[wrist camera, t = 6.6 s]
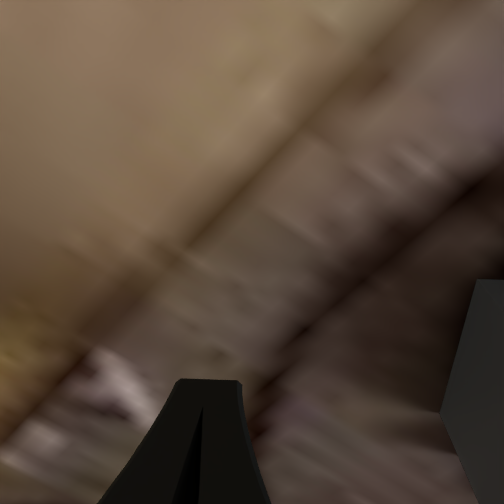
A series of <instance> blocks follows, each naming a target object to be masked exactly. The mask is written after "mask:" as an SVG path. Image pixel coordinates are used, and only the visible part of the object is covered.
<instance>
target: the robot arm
mask: <svg viewBox="0 0 504 504" xmlns="http://www.w3.org/2000/svg"><path fill="white" fill-rule="evenodd" d="M97 504H271V502H270V499H269V496H268V494H267V491H266V488H265V485H264V482H263V479H262V477H261V474H260V470H259V467H258V464H257V461H256V457H255V454H254V451H253V447H252V444H251V440H250V436H249V432H248V428H247V423H246V418H245V413H244V407H243V398H242V384H241V383H239V382H238V381H237V380H210V379H182V378H181V379H180V380H178V381H177V382H176V383H175V385H174V387H173V389H172V391H171V393H170V395H169V397H168V399H167V401H166V403H165V405H164V406H163V408H162V410H161V411H160V413H159V415H158V417H157V418H156V420H155V421H154V423H153V425H152V426H151V428H150V430H149V431H148V433H147V434H146V436H145V437H144V439H143V440H142V442H141V443H140V445H139V446H138V448H137V449H136V451H135V452H134V454H133V455H132V457H131V458H130V460H129V461H128V463H127V464H126V466H125V467H124V468H123V470H122V471H121V472H120V474H119V475H118V476H117V478H116V479H115V480H114V482H113V483H112V484H111V486H110V487H109V488H108V490H107V491H106V493H105V494H104V495H103V497H102V498H101V499H100V500H99V502H98V503H97Z"/></svg>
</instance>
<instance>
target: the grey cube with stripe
mask: <svg viewBox="0 0 504 504" xmlns="http://www.w3.org/2000/svg"><path fill="white" fill-rule="evenodd" d="M439 414H440V416H441V419H442V421H443V423H444V425H445V428H446V430H447V432H448V434H449V437H450V439H451V441H452V443H453V446H454V448H455V450H456V453H457V455H458V457H459V459H460V462H461V464H462V466H463V468H464V471H465V473H466V475H467V478H468V480H469V482H470V484H471V487H472V489H473V491H474V493H475V496H476V498H477V500H478V503H479V504H504V280H494V279H477V281H476V284H475V288H474V291H473V295H472V298H471V302H470V306H469V309H468V313H467V316H466V320H465V324H464V327H463V331H462V334H461V338H460V341H459V345H458V349H457V352H456V356H455V359H454V363H453V366H452V370H451V374H450V377H449V381H448V384H447V388H446V391H445V395H444V399H443V402H442V406H441V409H440V413H439Z"/></svg>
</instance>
